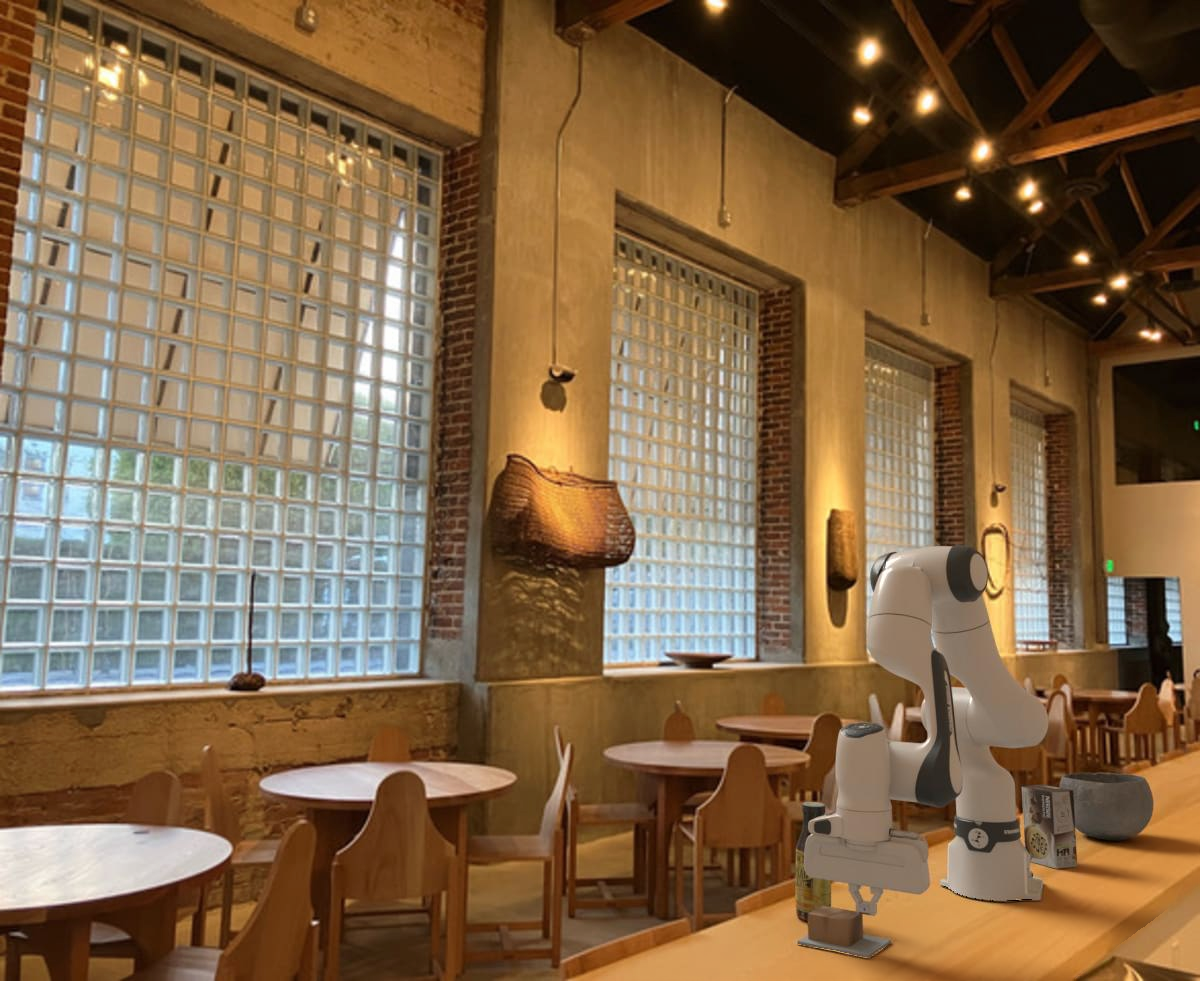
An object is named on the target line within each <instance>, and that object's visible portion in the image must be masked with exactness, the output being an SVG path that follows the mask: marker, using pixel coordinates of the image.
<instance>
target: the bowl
mask: <svg viewBox="0 0 1200 981" xmlns="http://www.w3.org/2000/svg"><path fill="white" fill-rule="evenodd" d="M1058 787H1059V788H1064V789H1070V790H1074V792H1073V794H1074V813H1075V830H1078V832H1080V833H1082V834H1084V835H1086V836H1088V837H1091V838H1095V839H1099V840H1106V841H1126V840H1128V839H1131V838H1133V837H1135V836H1137V835H1138V834H1140V833H1142V831H1144V830H1145V828H1146V827H1147V826H1148V824H1149V823H1150V821H1151V819H1152V817H1153V812H1154V797H1153V792H1152V789H1151V787H1150V784H1149V782H1148V780H1147V779H1146V778H1145V777H1143V776H1140V775H1135V774H1127V773H1113V772H1102V771H1100V772H1099V771H1097V772H1095V773H1094V772H1070V773H1067V774H1065V775H1062V776H1061V778H1060V782H1059V786H1058Z"/></svg>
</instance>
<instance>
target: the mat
mask: <svg viewBox="0 0 1200 981" xmlns="http://www.w3.org/2000/svg"><path fill="white" fill-rule="evenodd" d="M891 942H892V938H891V939H890V938H886V937H881V936H876V935H870V934H864V933H863V938H862V939H861V940H859V941H858V942H856V943H855V944H853V945H852V946H850V947H845V946H840V945H835V944H830V943H825V942H820V941H815V940H810V939H808V934H807V935H805V936H804V937H802V938H800V939H799V940H797V945H798V944H801V945H805V946H811V947H818V948H824V949H830V950H836V951H840V952H844V953H849V954H852V955H857V956H862V957H867V958H869V957H871V956H872V955H874V954H875V953H876V952H878V951H879V950H881V949H882V948H884V947H885V946H887V945H888V944H890V943H891ZM891 944H892V943H891ZM891 944H890V945H891ZM801 945H800V946H801ZM805 946H804V947H805ZM888 946H889V945H888ZM888 946H887V947H888ZM884 949H885V948H884ZM881 951H882V950H881ZM878 953H879V952H878ZM874 956H875V955H874ZM871 958H872V957H871Z"/></svg>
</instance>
